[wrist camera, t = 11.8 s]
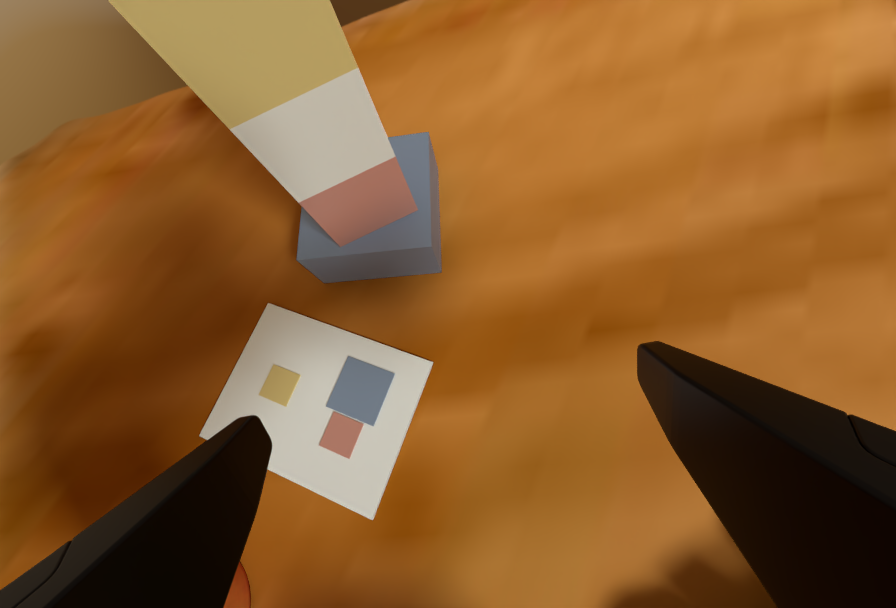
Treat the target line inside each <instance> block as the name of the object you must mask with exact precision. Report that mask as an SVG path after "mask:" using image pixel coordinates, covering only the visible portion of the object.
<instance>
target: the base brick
mask: <svg viewBox="0 0 896 608" xmlns="http://www.w3.org/2000/svg"><path fill="white" fill-rule="evenodd" d="M388 140H389V142H390V144H391V147H392V149H393V151H394V154H395V156H396V159H397V161H398V163H399V166H400V168H401V170H402V173H403V175H404V178H405V180H406V182H407V185H408V187H409V189H410V192H411V194H412V196H413V199H414V201H415V204H416V206H417V208H418V210H417V211H415V212H413V213H411V214H409V215H407V216H405V217H403V218H401V219H398V220H396V221H394V222H392V223H390V224H388V225H386V226H384V227H382V228H380V229H377V230H375V231H373V232H371V233H369V234H367V235H365V236H363V237H361V238H359V239H357V240H354V241H352V242H350V243H348V244H346V245H344V246H342V247H340V246H339V245H338V244H337V243H336V242H335V241H334V240H333V239H332V238H331V237H330V236H329V235H328V234H327V233H326V231H325V230H324V229H323V228H322V227H321V226H320V225H319V224H318V223H317V222H316V221H315V220H314V219H313V218H312V217H311V216H310V214H309V213H308V212H307V211H306V210H305V209H304V208H303V207H302V209H301V219H300V229H299V239H298V249H297V261H298V262H299V263H301V264H302V265H303V266H304V267H305V268H307V269H308V270H309V271H310V272H311V273H313V274H314V275H315V276H316V277H317V278H318V279H320V280H321V281H322V282H323V283H332V282H343V281H354V280H365V279H376V278H387V277H398V276H409V275H419V274H430V273H441V272H442V268H441V240H440V211H439V183H438V167H437V164H436V160H435V156H434V152H433V148H432V144H431V140H430V136H429V132H425V133H418V134H410V135H403V136H395V137H388Z"/></svg>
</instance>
